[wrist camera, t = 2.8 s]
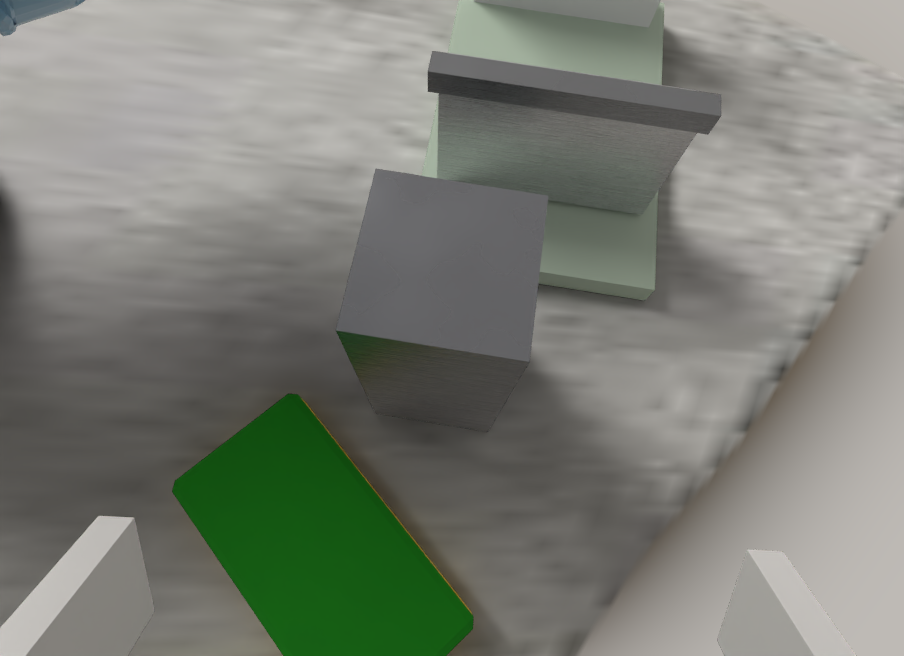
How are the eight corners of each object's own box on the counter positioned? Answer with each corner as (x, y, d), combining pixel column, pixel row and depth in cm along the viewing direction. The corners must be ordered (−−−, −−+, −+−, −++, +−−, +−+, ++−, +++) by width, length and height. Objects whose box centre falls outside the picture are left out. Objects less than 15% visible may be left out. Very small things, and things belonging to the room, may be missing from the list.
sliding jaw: (428, 181, 32) (427, 71, 24) (435, 146, 33) (437, 29, 25) (650, 216, 32) (721, 115, 24) (652, 180, 33) (720, 72, 25)
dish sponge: (304, 399, 30) (293, 388, 27) (474, 615, 26) (478, 624, 24) (188, 489, 28) (167, 485, 26) (356, 732, 25) (348, 753, 22)
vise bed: (407, 262, 32) (396, 138, 22) (463, -7, 40) (474, -193, 29) (644, 300, 32) (746, 192, 22) (655, 22, 39) (735, -156, 29)
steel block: (375, 413, 29) (335, 330, 17) (397, 309, 31) (375, 168, 19) (487, 432, 29) (529, 361, 17) (501, 326, 31) (548, 195, 19)
